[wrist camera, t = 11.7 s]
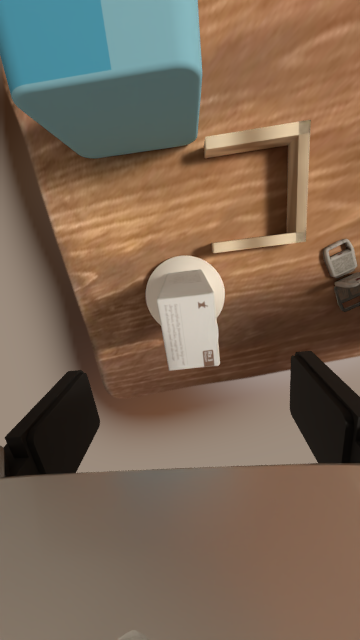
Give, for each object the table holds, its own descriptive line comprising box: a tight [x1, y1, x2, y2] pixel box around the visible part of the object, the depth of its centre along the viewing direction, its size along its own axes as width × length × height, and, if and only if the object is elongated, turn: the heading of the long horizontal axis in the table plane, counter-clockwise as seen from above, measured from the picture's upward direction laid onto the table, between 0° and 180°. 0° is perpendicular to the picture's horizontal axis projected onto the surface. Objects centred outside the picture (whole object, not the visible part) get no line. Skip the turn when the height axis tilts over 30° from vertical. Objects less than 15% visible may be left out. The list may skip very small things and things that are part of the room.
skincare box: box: [157, 269, 220, 371], centre depth 23 cm, size 6×4×12 cm
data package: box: [0, 0, 202, 158], centre depth 18 cm, size 12×4×12 cm, turn 96°
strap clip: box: [323, 239, 360, 312], centre depth 26 cm, size 8×3×4 cm, turn 27°
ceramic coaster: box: [146, 255, 225, 325], centre depth 29 cm, size 10×10×1 cm
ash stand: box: [204, 120, 311, 253], centre depth 24 cm, size 10×10×2 cm
